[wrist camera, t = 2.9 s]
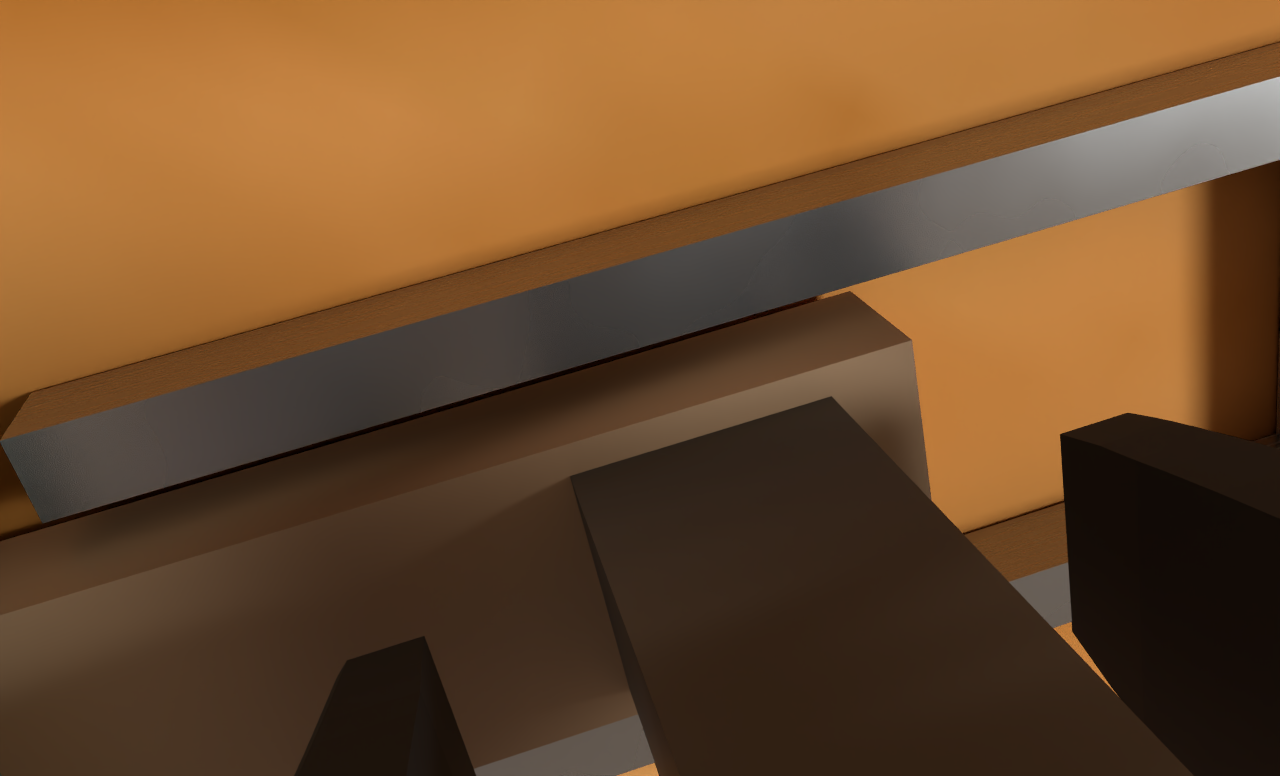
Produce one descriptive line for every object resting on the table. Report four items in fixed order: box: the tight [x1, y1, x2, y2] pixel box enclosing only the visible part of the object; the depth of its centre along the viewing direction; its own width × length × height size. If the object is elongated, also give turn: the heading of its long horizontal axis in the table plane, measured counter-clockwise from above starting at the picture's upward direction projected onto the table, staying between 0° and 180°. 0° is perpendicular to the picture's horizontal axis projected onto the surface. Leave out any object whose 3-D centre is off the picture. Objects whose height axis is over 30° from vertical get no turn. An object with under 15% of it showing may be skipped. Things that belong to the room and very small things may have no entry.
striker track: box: [0, 42, 1280, 776], centre depth 12 cm, size 13×5×1 cm, turn 103°
